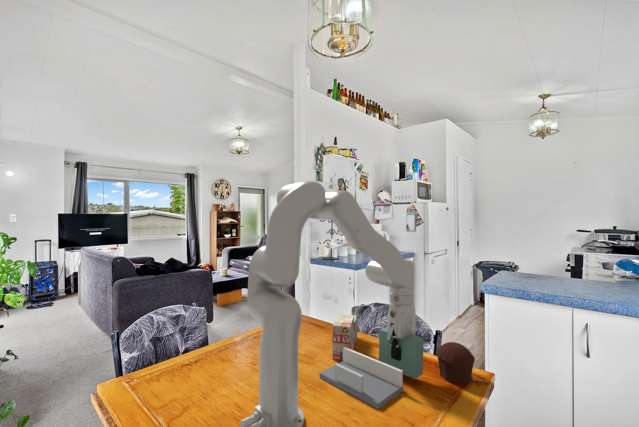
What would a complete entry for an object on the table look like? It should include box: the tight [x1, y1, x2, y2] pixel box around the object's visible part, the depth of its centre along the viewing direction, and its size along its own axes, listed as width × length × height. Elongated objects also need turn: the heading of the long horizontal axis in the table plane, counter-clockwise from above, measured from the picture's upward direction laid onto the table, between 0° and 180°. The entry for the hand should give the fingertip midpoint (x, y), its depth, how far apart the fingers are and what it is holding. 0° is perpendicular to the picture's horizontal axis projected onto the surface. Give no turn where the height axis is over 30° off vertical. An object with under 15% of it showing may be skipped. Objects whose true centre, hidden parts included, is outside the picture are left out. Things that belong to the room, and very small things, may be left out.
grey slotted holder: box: [318, 347, 405, 410], centre depth 94 cm, size 12×22×6 cm, turn 44°
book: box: [378, 326, 424, 380], centre depth 99 cm, size 4×13×11 cm, turn 44°
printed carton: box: [331, 314, 358, 361], centre depth 120 cm, size 21×6×12 cm, turn 166°
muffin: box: [435, 341, 476, 385], centre depth 99 cm, size 12×11×10 cm
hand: (400, 356), depth 99 cm, fingers closed on book, 4 cm apart
